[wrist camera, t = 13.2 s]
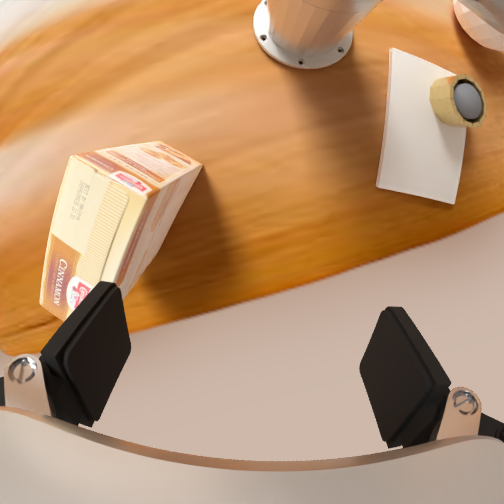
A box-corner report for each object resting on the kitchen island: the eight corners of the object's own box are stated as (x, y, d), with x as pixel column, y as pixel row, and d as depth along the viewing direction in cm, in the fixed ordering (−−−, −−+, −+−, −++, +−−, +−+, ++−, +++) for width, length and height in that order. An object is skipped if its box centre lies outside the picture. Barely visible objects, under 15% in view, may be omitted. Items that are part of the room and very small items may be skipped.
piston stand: (389, 49, 27) (409, 38, 22) (464, 81, 27) (489, 79, 22) (375, 186, 35) (394, 196, 30) (450, 202, 35) (473, 214, 30)
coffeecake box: (158, 139, 33) (69, 151, 15) (205, 164, 35) (151, 199, 17) (116, 232, 38) (36, 304, 20) (156, 256, 40) (95, 345, 22)
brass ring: (430, 71, 27) (450, 66, 22) (466, 88, 27) (486, 86, 22) (428, 117, 30) (448, 117, 25) (463, 131, 30) (484, 134, 25)
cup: (475, 65, 26) (514, 60, 17) (429, 2, 22) (462, -16, 14) (501, 41, 22) (535, 36, 13) (460, -15, 19) (491, -29, 10)
